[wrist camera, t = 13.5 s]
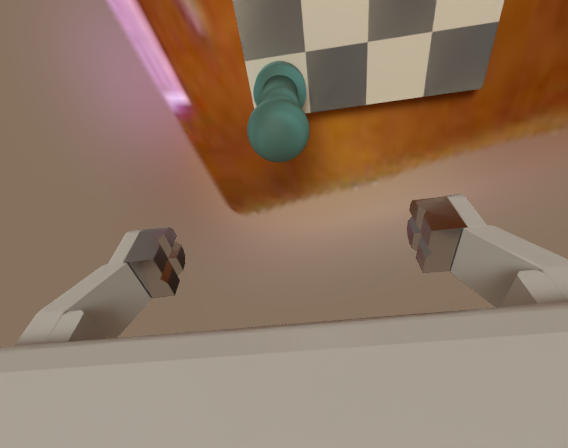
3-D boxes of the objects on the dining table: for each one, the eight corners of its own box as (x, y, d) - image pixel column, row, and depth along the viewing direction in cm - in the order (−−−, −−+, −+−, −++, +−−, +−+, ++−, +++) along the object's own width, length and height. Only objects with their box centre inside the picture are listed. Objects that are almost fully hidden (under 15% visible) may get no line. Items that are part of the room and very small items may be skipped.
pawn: (302, 57, 26) (311, 102, 17) (307, 110, 28) (317, 172, 20) (250, 64, 26) (233, 112, 18) (259, 116, 29) (249, 179, 20)
